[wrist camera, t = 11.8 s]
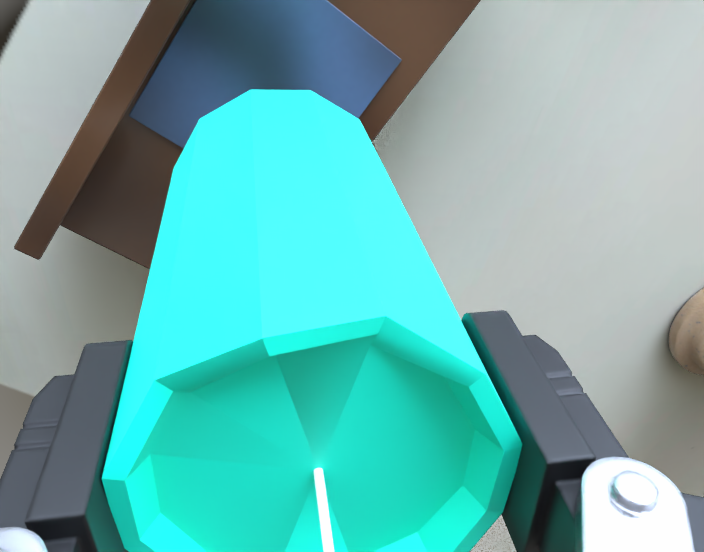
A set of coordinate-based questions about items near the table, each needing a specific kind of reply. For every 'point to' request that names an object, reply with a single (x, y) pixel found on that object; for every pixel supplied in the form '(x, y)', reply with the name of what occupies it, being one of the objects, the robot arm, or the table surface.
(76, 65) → the table surface
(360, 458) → the candle
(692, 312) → the candle holder
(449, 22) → the shelf
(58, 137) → the table surface
